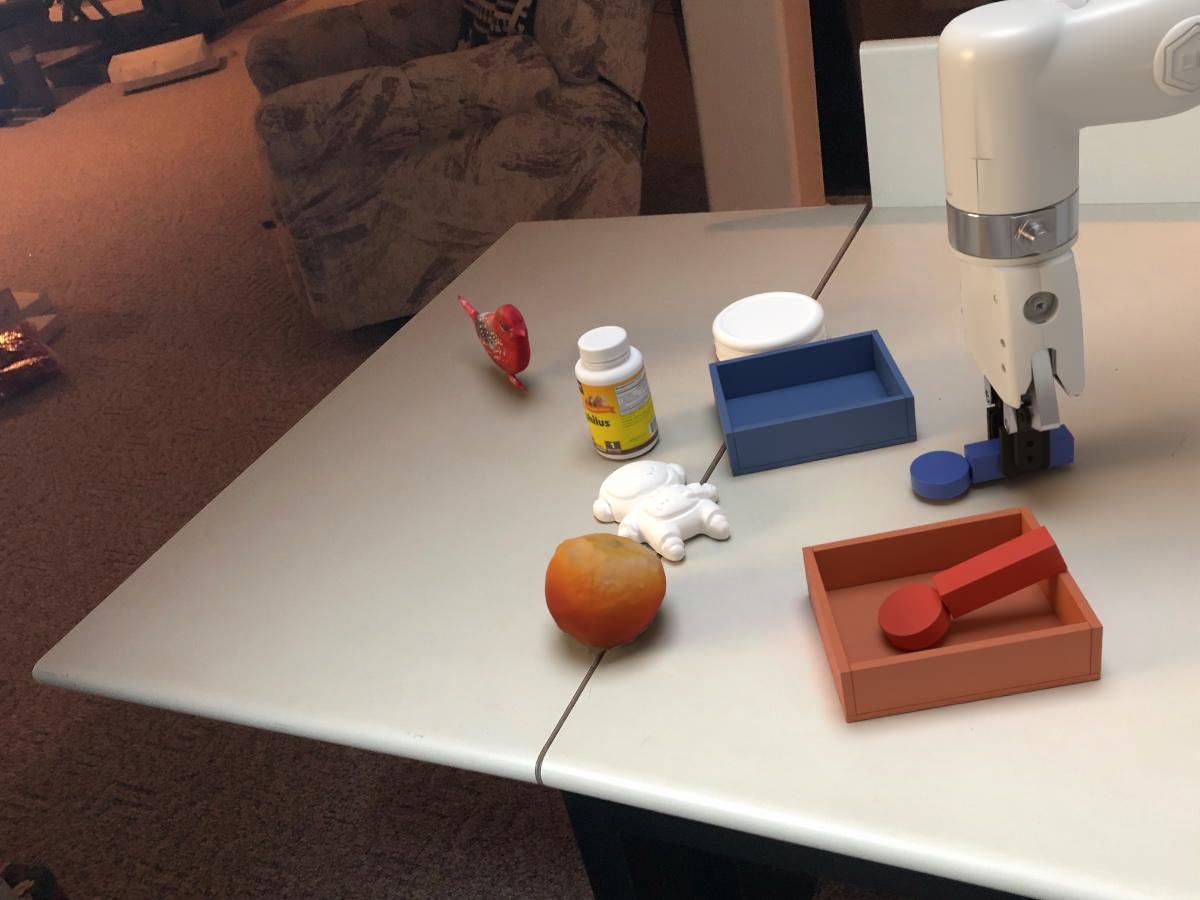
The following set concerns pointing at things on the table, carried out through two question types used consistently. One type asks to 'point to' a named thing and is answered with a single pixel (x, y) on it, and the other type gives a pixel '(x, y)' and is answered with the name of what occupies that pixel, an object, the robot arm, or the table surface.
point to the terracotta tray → (972, 642)
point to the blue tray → (812, 402)
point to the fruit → (604, 590)
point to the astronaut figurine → (660, 506)
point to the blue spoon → (975, 465)
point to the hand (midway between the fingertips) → (1018, 459)
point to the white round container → (767, 324)
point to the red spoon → (968, 588)
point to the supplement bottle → (615, 394)
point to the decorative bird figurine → (503, 338)
